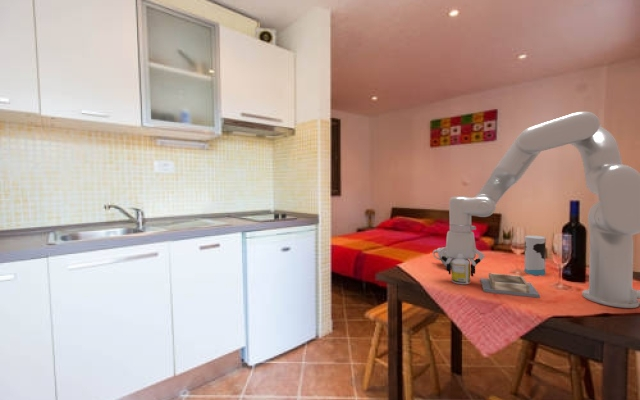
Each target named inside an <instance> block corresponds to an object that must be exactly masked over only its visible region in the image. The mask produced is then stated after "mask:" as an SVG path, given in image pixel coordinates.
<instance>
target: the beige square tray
mask: <svg viewBox="0 0 640 400" xmlns="http://www.w3.org/2000/svg"><path fill="white" fill-rule="evenodd" d="M488 279H489V282H490V284H491V287H492V289H495V290H504V291H514V292H523V293H529V285H528V283H529V282H527V281H526V279H525V278H524V277H523V276H522V275H514V274H504V273H503V274H502V273H491V272H488ZM495 281H503V282H513V283H520V284H513V283H503V282H495Z"/></svg>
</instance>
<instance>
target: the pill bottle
mask: <svg viewBox="0 0 640 400" xmlns="http://www.w3.org/2000/svg"><path fill="white" fill-rule="evenodd" d="M457 257H459V258H453V259H452V260H451V282H453V284H454V283H455V284H457V285H468V284H470V283H471V261H470V260H469V259H464V256H463V254H458V256H457Z"/></svg>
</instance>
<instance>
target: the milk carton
mask: <svg viewBox="0 0 640 400" xmlns="http://www.w3.org/2000/svg"><path fill="white" fill-rule="evenodd" d="M546 241H547V239H546V237H545V236H540V235H525V236H524V273H525V272H526V273H525V274H527V273H528V274H527V275H532V276H537V275H541V276H545V275H546Z"/></svg>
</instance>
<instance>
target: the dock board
mask: <svg viewBox="0 0 640 400" xmlns="http://www.w3.org/2000/svg"><path fill="white" fill-rule="evenodd" d="M479 281H480V284H481V287H482V290H483V292H484V293H492V294H500V295H508V296H509V295H510V296H520V297H528V298H537V299H539V298H541V295H540V293H539V292H538V291H537V289H536V288H535V286H533V284H532V283H531V282H527V283H528V285H529V293H523V292H514V291H504V290H495V289H492V287H491V284H490V282H489V278H483V277H481V278H480V280H479ZM495 282H503V281H495ZM503 283H513V282H503ZM513 284H520V283H513Z"/></svg>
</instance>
